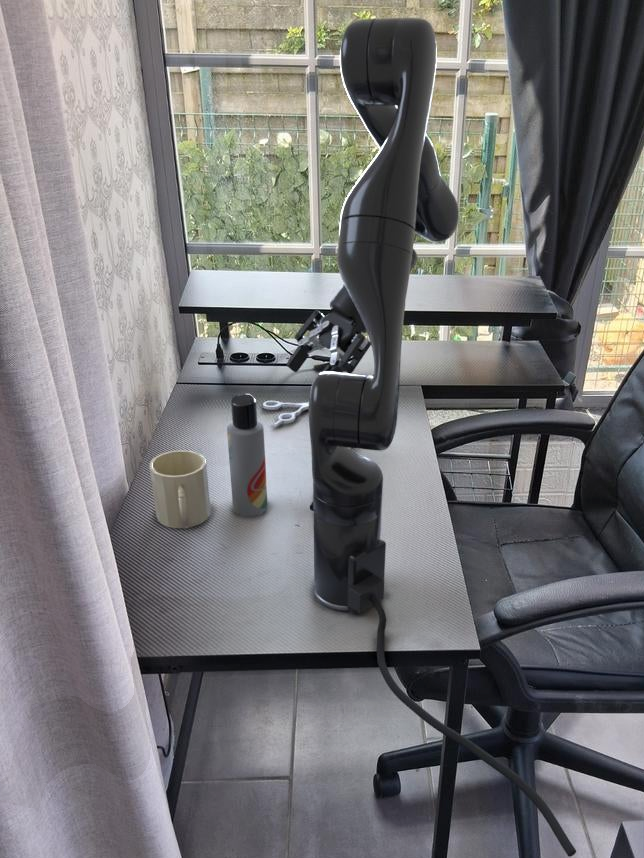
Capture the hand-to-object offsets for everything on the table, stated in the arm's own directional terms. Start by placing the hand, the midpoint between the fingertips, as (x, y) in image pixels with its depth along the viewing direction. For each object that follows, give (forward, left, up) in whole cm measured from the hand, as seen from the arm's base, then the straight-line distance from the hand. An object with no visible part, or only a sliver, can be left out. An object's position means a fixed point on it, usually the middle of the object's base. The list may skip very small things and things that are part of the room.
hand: (304, 378), depth 127 cm
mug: (+7, +21, -21) cm, 30 cm away
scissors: (+24, -22, -21) cm, 39 cm away
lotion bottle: (+2, +11, -21) cm, 24 cm away
